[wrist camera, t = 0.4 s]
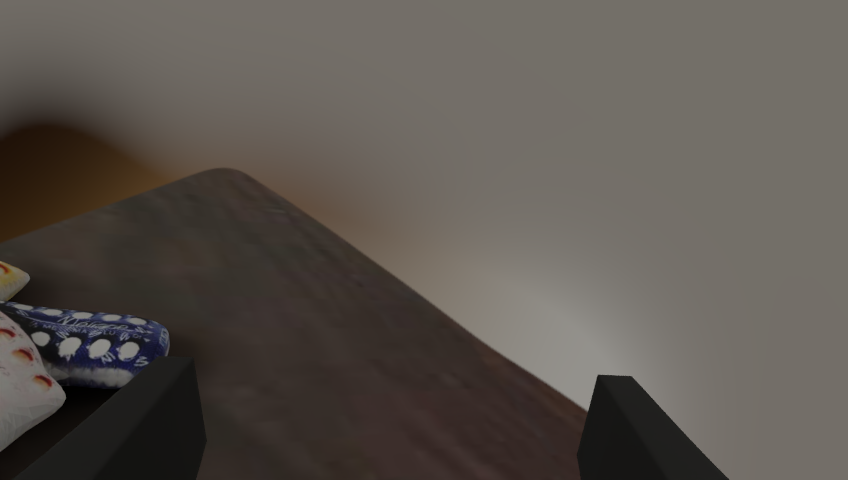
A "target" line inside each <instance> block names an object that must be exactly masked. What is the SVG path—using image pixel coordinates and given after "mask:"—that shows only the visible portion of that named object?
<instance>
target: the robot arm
mask: <svg viewBox="0 0 848 480" xmlns="http://www.w3.org/2000/svg"><path fill="white" fill-rule="evenodd" d="M206 441H207V440H206V434H205V427H204V421H203V415H202V408H201V402H200V396H199V389H198V383H197V377H196V370H195V364H194V358H193V357H172V356H158V357H157V358H156V359H154V360H153V361H152V362H151V363H150V364H149V365H147V366H146V367H145V368H144V369H143V370H141V371H140V372H139V373H138V374H137V375H136V376H135V377H133V378H132V379H131V380H130V381H129V382H128V383H127V384H126V385H124V386H123V387H122V388H121V389H120V390H119V391H118V392H116V393H115V394H114V395H113V396H112V397H111V398H110V399H109V400H107V401H106V402H105V403H104V404H103V405H102V406H101V407H99V408H98V409H97V410H96V411H95V412H94V413H93V414H91V415H90V416H89V417H88V418H87V419H85V420H84V421H83V422H82V423H81V424H80V425H78V426H77V427H76V428H75V429H74V430H72V431H71V432H70V433H69V434H68V435H67V436H65V437H64V438H63V439H62V440H61V441H59V442H58V443H57V444H56V445H55V446H54V447H52V448H51V449H50V450H49V451H47V452H46V453H45V454H44V455H42V456H41V457H40V458H39V459H37V460H36V461H35V462H33V463H32V464H31V465H30V466H28V467H27V468H26V469H25V470H23V471H22V472H21V473H19V474H18V475H17V476H16V477H14V478H13V479H12V480H196V477H197V474H198V470H199V467H200V463H201V460H202V456H203V452H204V449H205V445H206ZM577 458H578V464H579V470H580V476H581V480H729V479H728V478H727V477H726V476H725V475H724V474H723V473H722V472H721V471H720V470H719V469H718V468H717V467H716V466H715V465H714V464H713V463H712V462H711V461H710V460H709V459H708V458H707V457H706V456H705V455H704V454H703V453H702V451H701V450H700V449H699V448H697V447H696V445H695V444H694V443H693V442H692V441H691V440H690V439H689V438H688V437H687V436H686V435H685V434H684V432H683V431H682V430H681V429H680V428H679V427H678V426H677V425H676V424H675V423H674V422H673V421H672V420H671V418H670V417H669V416H668V415H667V414H666V413H665V412H664V411H663V410H662V409H661V408H660V407H659V405H658V404H657V403H656V402H655V401H654V400H653V399H652V398H651V397H650V396H649V394H648V393H647V392H646V391H645V390H644V389H643V388H642V387H641V386H640V385H639V384H638V383H637V382H636V381H635V380H634V378H633V377H631V376H614V375H598V376H597V380H596V384H595V388H594V392H593V395H592V400H591V404H590V407H589V411H588V415H587V418H586V422H585V426H584V430H583V434H582V438H581V441H580V445H579V449H578V453H577Z"/></svg>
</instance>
